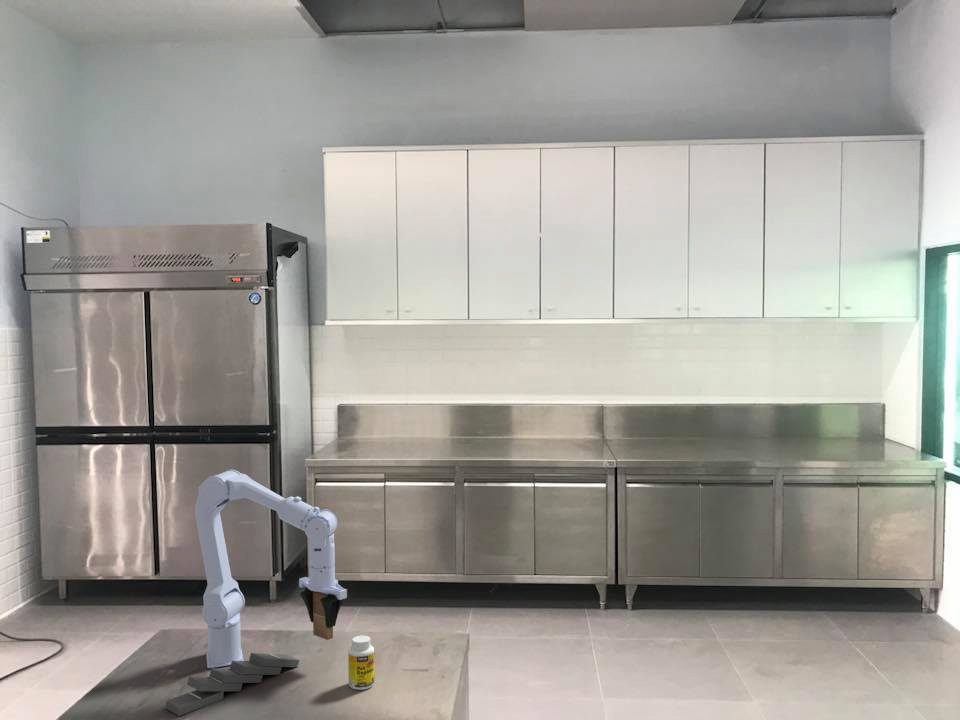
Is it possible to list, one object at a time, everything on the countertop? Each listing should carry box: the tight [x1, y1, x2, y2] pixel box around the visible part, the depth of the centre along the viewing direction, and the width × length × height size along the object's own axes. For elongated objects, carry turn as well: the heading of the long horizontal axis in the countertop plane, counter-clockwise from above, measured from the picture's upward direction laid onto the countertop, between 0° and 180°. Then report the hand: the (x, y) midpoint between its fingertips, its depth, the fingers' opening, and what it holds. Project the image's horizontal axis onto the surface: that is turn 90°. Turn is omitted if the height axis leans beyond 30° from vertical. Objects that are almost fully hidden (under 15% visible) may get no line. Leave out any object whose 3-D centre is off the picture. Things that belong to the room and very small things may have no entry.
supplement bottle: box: [347, 635, 375, 691], centre depth 169 cm, size 6×6×10 cm
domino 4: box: [229, 660, 283, 676], centre depth 173 cm, size 2×5×10 cm
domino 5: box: [248, 652, 300, 668], centre depth 177 cm, size 2×5×10 cm
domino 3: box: [209, 668, 264, 684], centre depth 169 cm, size 2×5×10 cm
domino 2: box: [186, 676, 244, 692], centre depth 165 cm, size 2×5×10 cm
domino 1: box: [165, 689, 224, 717], centre depth 162 cm, size 2×5×10 cm
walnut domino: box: [312, 591, 334, 641], centre depth 179 cm, size 2×5×10 cm, turn 51°
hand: (322, 623), depth 179 cm, fingers closed on walnut domino, 5 cm apart
